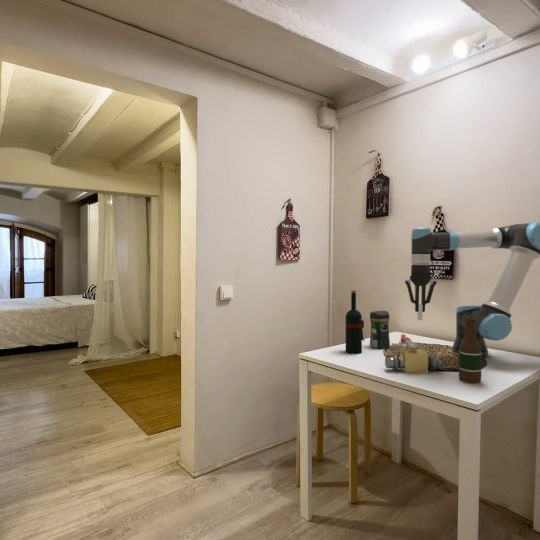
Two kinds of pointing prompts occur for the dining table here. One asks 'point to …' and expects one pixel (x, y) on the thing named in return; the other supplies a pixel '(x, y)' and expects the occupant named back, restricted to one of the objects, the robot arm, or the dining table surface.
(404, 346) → the pipe connector
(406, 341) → the lever
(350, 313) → the wine bottle
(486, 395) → the dining table surface
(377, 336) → the coffee jar
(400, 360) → the pipe
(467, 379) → the beer bottle
